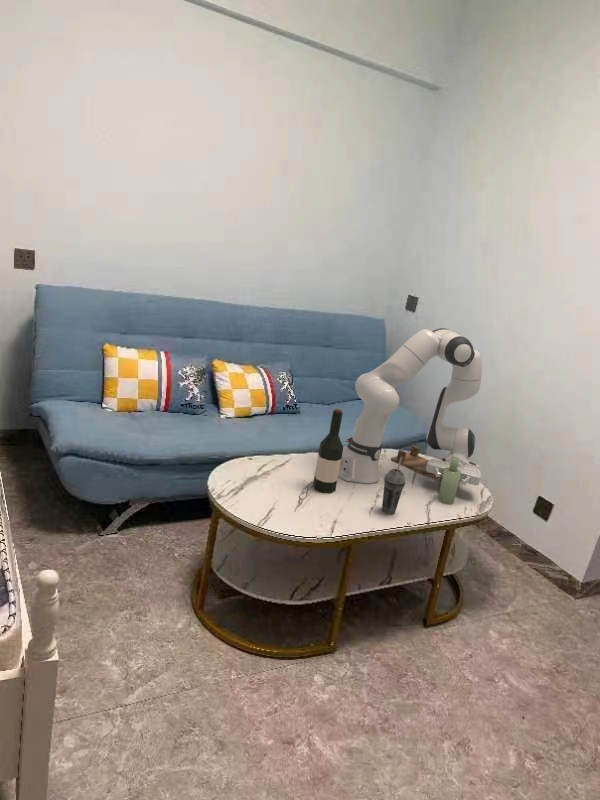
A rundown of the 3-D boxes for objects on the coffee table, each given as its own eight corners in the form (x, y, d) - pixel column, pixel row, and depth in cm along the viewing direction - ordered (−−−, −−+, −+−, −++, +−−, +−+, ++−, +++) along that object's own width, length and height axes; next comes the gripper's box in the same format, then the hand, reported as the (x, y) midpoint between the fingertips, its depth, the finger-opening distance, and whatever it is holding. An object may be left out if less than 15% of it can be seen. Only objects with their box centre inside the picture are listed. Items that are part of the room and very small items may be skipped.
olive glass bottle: (434, 499, 230) (444, 456, 225) (442, 495, 234) (452, 453, 229) (448, 505, 226) (459, 462, 221) (456, 501, 231) (467, 459, 226)
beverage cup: (374, 510, 212) (385, 456, 207) (383, 504, 218) (394, 451, 213) (392, 518, 209) (404, 464, 203) (402, 512, 215) (414, 458, 209)
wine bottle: (333, 495, 219) (348, 415, 211) (310, 490, 220) (324, 410, 212) (337, 486, 227) (351, 408, 219) (314, 481, 228) (328, 404, 220)
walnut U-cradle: (390, 460, 261) (393, 449, 260) (408, 454, 272) (410, 443, 270) (436, 480, 248) (439, 468, 246) (453, 473, 258) (455, 461, 257)
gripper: (430, 452, 243) (424, 463, 231) (483, 466, 237) (480, 478, 225) (427, 467, 245) (421, 478, 233) (479, 481, 239) (476, 494, 227)
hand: (450, 478), depth 229 cm, fingers open, 8 cm apart
